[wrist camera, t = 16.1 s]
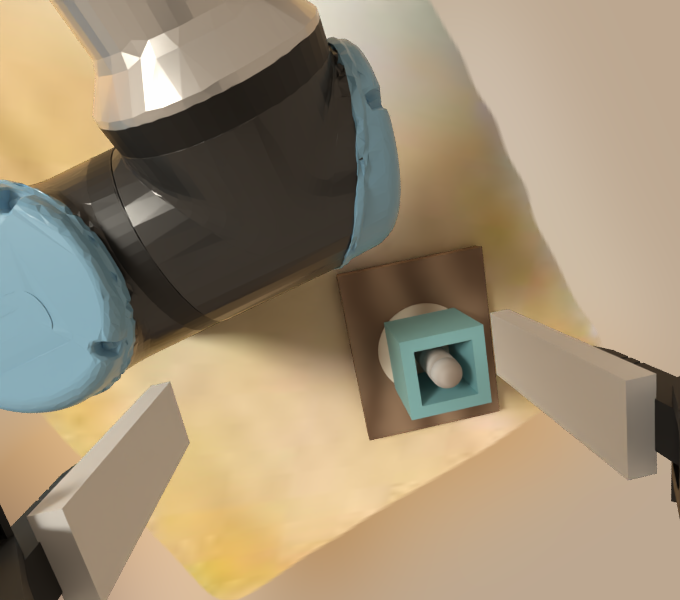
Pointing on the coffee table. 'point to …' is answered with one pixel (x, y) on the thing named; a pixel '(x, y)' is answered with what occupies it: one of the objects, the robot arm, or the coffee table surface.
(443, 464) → the coffee table surface
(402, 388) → the teal ring
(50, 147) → the coffee table surface
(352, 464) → the coffee table surface
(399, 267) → the post stand
